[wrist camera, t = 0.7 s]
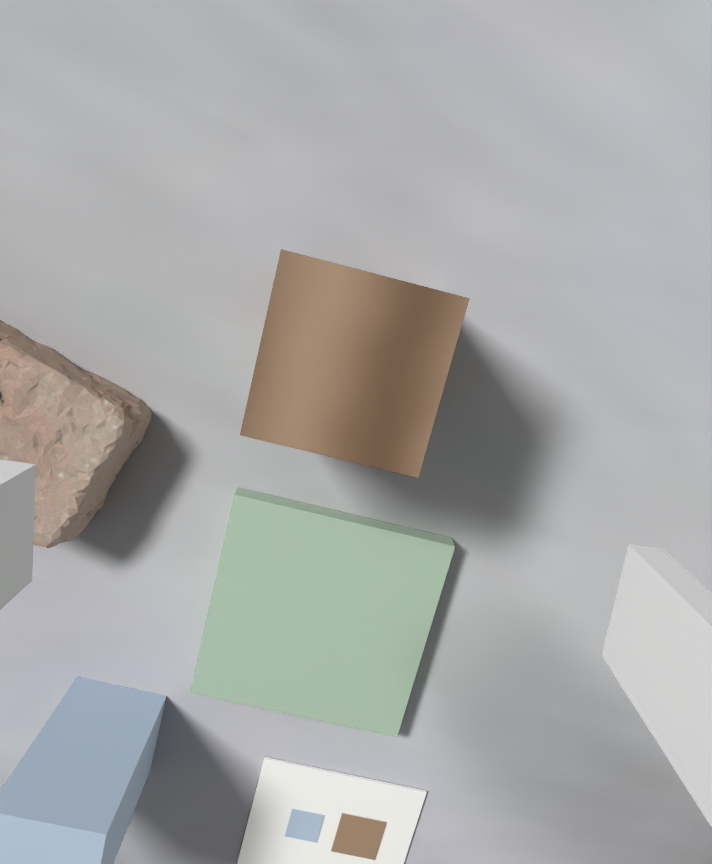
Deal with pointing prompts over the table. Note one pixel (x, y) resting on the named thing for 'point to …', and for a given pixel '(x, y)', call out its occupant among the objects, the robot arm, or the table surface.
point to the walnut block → (352, 364)
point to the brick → (64, 432)
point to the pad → (320, 612)
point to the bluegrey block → (81, 777)
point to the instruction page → (328, 818)
